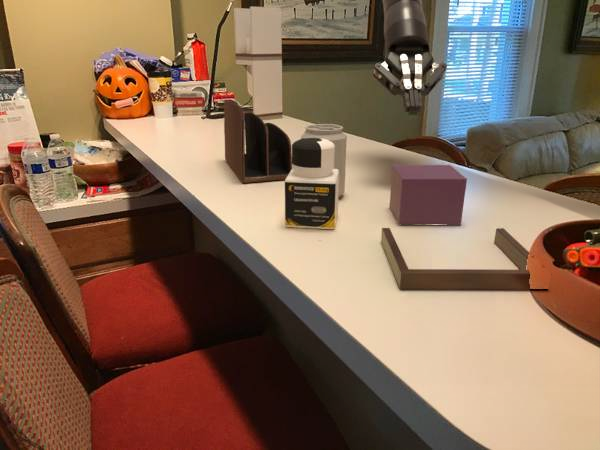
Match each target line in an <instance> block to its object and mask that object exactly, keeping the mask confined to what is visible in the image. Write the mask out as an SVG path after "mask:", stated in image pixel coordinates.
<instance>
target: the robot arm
mask: <svg viewBox="0 0 600 450" xmlns="http://www.w3.org/2000/svg"><path fill="white" fill-rule="evenodd" d="M381 2H382V5H383V6H382V7H383V17H384V18H383V20H384V21H383V38H384V43H385V44H384V47H385V57H384V61H383V62H382V63H381V62H377V63H375V64H374V69H373V74H372V77H373V78H374V79H375V80H376V81H377V82H379V83H380V84H381V85H382V86H383V87H384V88H385V89H386V91H388V92H389V93H390V94H391V95H393V96H397V95H399V96H401V97H402V102H403V110H404V112H405V113H407V115H408V116H418V114H419V113H420V112H421V110H422V108H423V106H424V105H423V104H424V102H423V96H429V94H430V93H431V92H432V91H433V90H434V88H435V87H436V86H437V85H438V84H439V83H440V81H441V80H442V79H443V78H444V76H445V73H446V70H447V67H448V65H447V64H446V63H442V62H441V63H440V64H439V63H437V62H435V59H434V56H433V55H432V54H431V51H430V49H431V48H430V42H429V35H428V28H427V27H428V25H427V19H426V16H425V13H424V9H423V2H422V0H381ZM429 71H430V76H429V77H428V78H427V79H426V80H425V82H423V78H424V77H425V76H426V75H427V73H428V72H429Z"/></svg>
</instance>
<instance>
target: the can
mask: <svg viewBox="0 0 600 450" xmlns="http://www.w3.org/2000/svg"><path fill="white" fill-rule="evenodd" d="M304 129H305V131H304V132H303V133H302V135H301V136H300V139H304V138H322V139H327V140H329V141H331V142H333V144H334V145H335V154H334V169H338V170H339V191H338V199H339V198H340V197H341V196H342V195H343V194H345V191H346V167H347V166H346V165H347V164H346V163H347V141H348V140H347V137H348V136H347V135H346V134H345V133H344V131H343V129H344V126H342V125H339V124H334V123H315V124H314V123H313V124H307V125H305V127H304Z"/></svg>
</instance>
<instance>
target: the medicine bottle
mask: <svg viewBox="0 0 600 450" xmlns="http://www.w3.org/2000/svg"><path fill="white" fill-rule="evenodd" d="M291 153H292V170H291V171H290V173H289V175H288V176H287V178H286V179H285V180H284V225H285V227H286V228H297V229H298V228H299V229H319V230H334V229H335V228H336V223H337V218H338V213H339V198H338V191H339V170H338V169H334V154H335V145H334V144H333V142H331V141H329V140H327V139H322V138H304V139H301V138H300V139H297V140H295V141H294V142H293V143H291Z"/></svg>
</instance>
